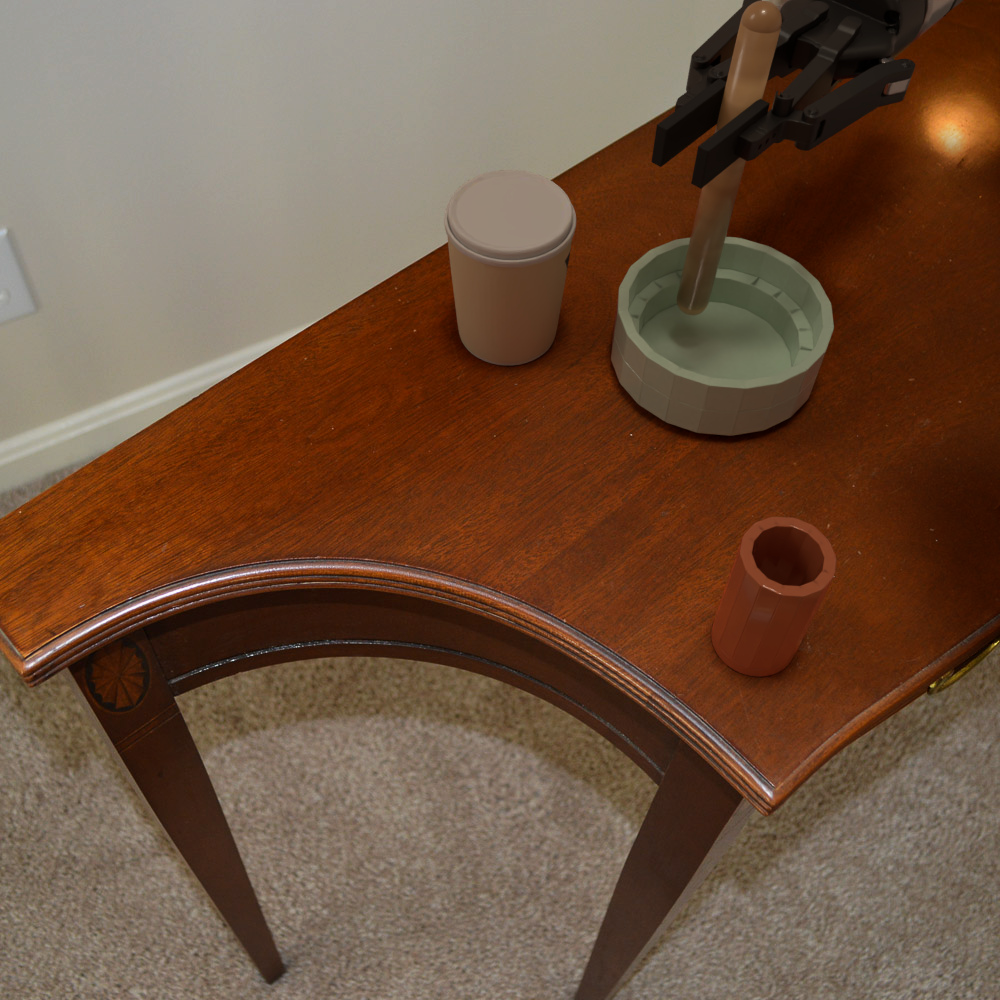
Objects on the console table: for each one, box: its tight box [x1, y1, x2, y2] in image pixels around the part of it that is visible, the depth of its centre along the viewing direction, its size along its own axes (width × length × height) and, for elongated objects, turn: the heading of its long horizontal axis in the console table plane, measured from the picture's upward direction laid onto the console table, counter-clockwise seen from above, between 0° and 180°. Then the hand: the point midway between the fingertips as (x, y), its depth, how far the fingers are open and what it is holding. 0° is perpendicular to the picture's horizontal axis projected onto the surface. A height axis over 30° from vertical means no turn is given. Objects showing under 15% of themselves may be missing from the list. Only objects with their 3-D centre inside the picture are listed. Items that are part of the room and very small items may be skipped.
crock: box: [710, 516, 837, 678], centre depth 66 cm, size 5×6×10 cm
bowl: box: [610, 236, 835, 437], centre depth 82 cm, size 16×16×6 cm
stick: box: [677, 0, 782, 315], centre depth 73 cm, size 2×2×24 cm
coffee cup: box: [443, 169, 577, 367], centre depth 81 cm, size 9×9×12 cm
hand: (679, 156), depth 66 cm, fingers closed on stick, 2 cm apart
